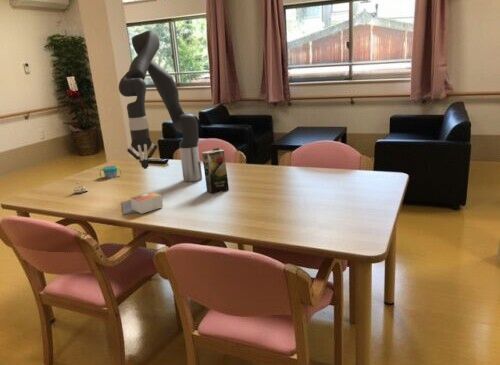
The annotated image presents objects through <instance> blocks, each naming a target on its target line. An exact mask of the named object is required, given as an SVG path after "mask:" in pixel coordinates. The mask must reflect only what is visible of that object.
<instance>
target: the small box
mask: <svg viewBox="0 0 500 365" xmlns="http://www.w3.org/2000/svg"><path fill="white" fill-rule="evenodd" d="M130 201H131V205H132V210H134V211H136V212H138V213H139V214H141V215H142V214H145V213H147V212H152V211H155V210H158V209H161V208H164V207H163V206H164V204H163V197H162V194H160V193H157V192H153V191H149V192H147V193H143V194H140V195H136V196H133V197H130Z"/></svg>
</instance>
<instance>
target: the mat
mask: <svg viewBox="0 0 500 365" xmlns="http://www.w3.org/2000/svg"><path fill="white" fill-rule="evenodd" d="M121 208H122V215H124V216H125V215H129V214H131V215H132V214H137V213H139V212H136V211H134V210H132V205H131V200H126V201H121Z"/></svg>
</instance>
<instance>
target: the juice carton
mask: <svg viewBox="0 0 500 365" xmlns="http://www.w3.org/2000/svg"><path fill="white" fill-rule="evenodd" d="M201 154H202V165H203V170H204V171H203V172H204V179H205V186H206V192H208V193H210V194H211V195H213V194H214V195H215V194H217V193H221V192H222V193H224V192H226V191H230V190H229V188H230V187H229V179H228V178H229V177H228V173H227V165H226V164H227V163H226V156H225V150H224V149H220V148H219V147H214V148H212V150H208V151H203V152H201Z"/></svg>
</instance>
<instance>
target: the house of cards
mask: <svg viewBox="0 0 500 365" xmlns="http://www.w3.org/2000/svg"><path fill="white" fill-rule="evenodd" d="M76 184H77V186H75V188H74V189H73V192H72V195H75V194H79V193H80V194H83V193H85V192H86V191H87V188H86V187H85V186H84V185H82V186H81V185H80V186H79V185H78V184H80V182H79V180H77V181H76Z"/></svg>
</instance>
